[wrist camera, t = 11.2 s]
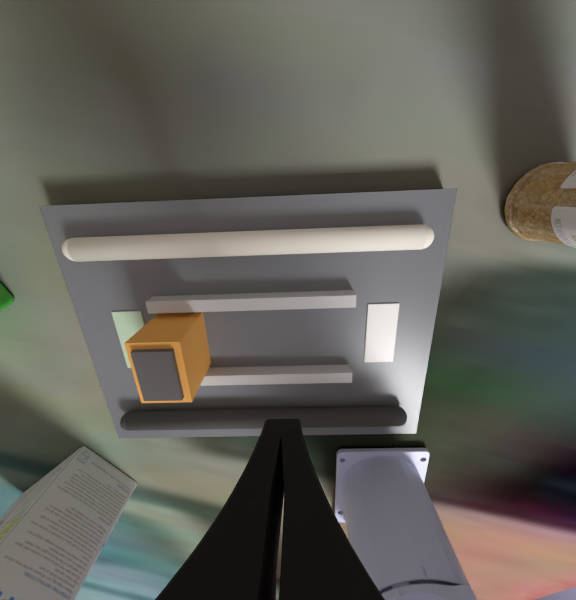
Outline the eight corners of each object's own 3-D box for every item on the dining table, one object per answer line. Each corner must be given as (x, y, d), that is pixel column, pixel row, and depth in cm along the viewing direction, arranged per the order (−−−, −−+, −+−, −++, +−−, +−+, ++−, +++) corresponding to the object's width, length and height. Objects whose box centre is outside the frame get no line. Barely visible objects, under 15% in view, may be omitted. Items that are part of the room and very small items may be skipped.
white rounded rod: (425, 246, 16) (436, 251, 15) (77, 259, 17) (60, 264, 16) (428, 222, 16) (440, 225, 15) (70, 236, 17) (51, 240, 15)
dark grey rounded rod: (401, 415, 21) (409, 430, 20) (129, 420, 22) (118, 435, 20) (404, 401, 21) (411, 415, 19) (124, 406, 21) (113, 420, 20)
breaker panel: (408, 419, 23) (421, 444, 21) (129, 423, 24) (111, 448, 22) (443, 188, 17) (468, 187, 14) (59, 205, 17) (23, 206, 15)
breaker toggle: (211, 362, 20) (190, 406, 16) (170, 363, 20) (138, 406, 16) (202, 311, 18) (177, 344, 14) (158, 313, 18) (120, 346, 14)
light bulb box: (77, 525, 29) (-36, 699, 19) (20, 491, 27) (-138, 664, 17) (141, 482, 27) (47, 657, 16) (82, 441, 25) (-62, 610, 15)
